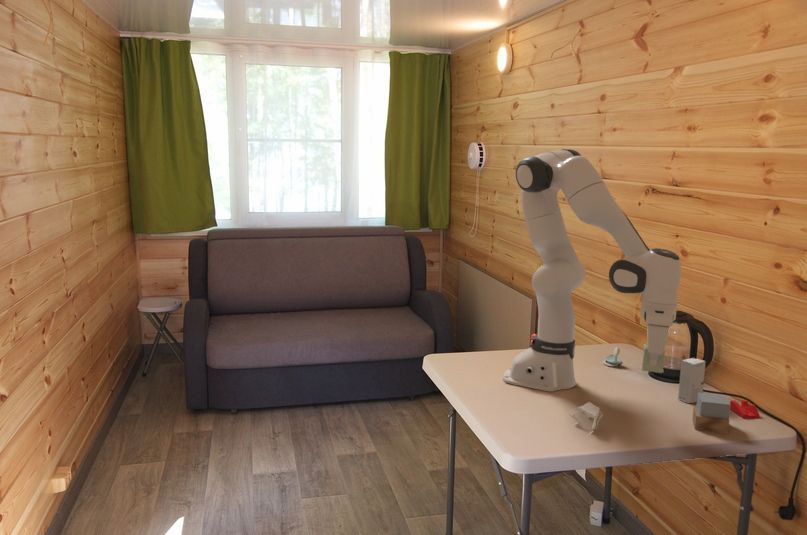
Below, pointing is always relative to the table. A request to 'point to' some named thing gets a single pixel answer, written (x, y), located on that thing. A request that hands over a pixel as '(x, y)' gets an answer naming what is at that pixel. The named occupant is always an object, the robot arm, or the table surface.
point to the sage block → (646, 359)
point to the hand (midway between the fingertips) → (652, 361)
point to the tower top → (713, 405)
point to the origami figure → (588, 413)
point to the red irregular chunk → (744, 409)
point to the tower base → (709, 423)
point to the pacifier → (613, 358)
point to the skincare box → (691, 379)
